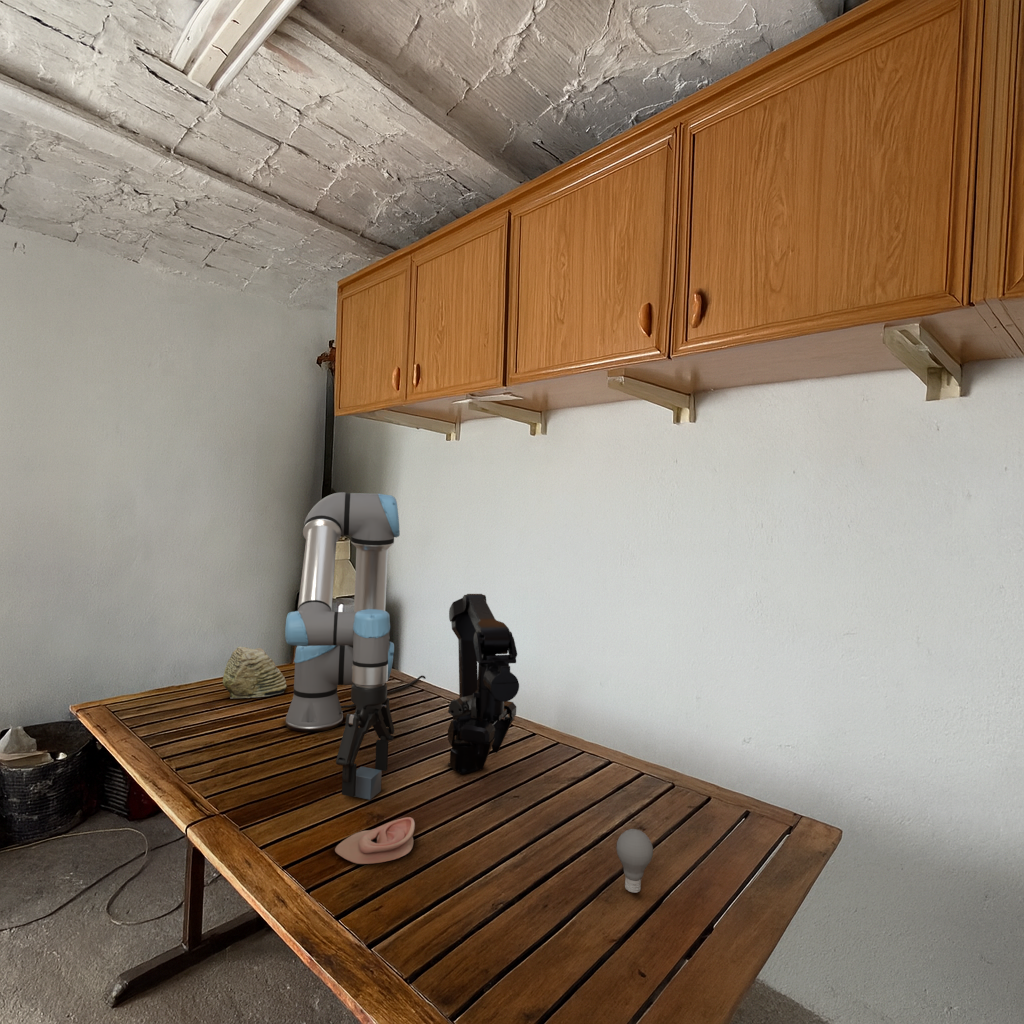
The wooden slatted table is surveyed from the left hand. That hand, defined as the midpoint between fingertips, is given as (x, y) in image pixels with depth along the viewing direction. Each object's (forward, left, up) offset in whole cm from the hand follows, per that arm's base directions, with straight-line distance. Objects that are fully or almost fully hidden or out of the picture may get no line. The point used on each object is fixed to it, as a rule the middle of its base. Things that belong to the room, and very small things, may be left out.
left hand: (365, 781), depth 136 cm
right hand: (-13, +23, +7) cm, 27 cm away
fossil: (-18, -77, -2) cm, 79 cm away
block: (0, 0, -2) cm, 2 cm away
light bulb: (-8, +60, -2) cm, 60 cm away
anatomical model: (+12, +18, -2) cm, 22 cm away
